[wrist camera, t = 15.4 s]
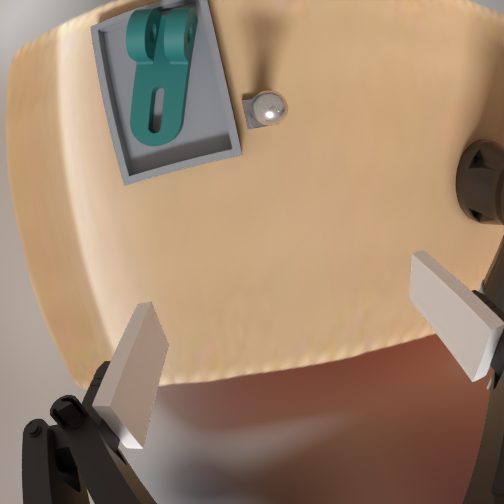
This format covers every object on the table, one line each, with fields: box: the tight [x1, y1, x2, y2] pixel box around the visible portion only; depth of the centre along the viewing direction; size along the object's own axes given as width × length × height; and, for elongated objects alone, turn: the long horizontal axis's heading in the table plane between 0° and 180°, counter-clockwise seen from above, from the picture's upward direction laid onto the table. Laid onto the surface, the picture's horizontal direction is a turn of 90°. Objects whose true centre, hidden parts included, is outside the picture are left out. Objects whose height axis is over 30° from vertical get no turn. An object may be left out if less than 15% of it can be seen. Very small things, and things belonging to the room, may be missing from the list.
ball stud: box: [242, 90, 288, 129], centre depth 32 cm, size 4×4×13 cm
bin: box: [91, 0, 242, 186], centre depth 34 cm, size 16×24×2 cm, turn 11°
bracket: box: [126, 8, 198, 146], centre depth 31 cm, size 18×7×8 cm, turn 173°
